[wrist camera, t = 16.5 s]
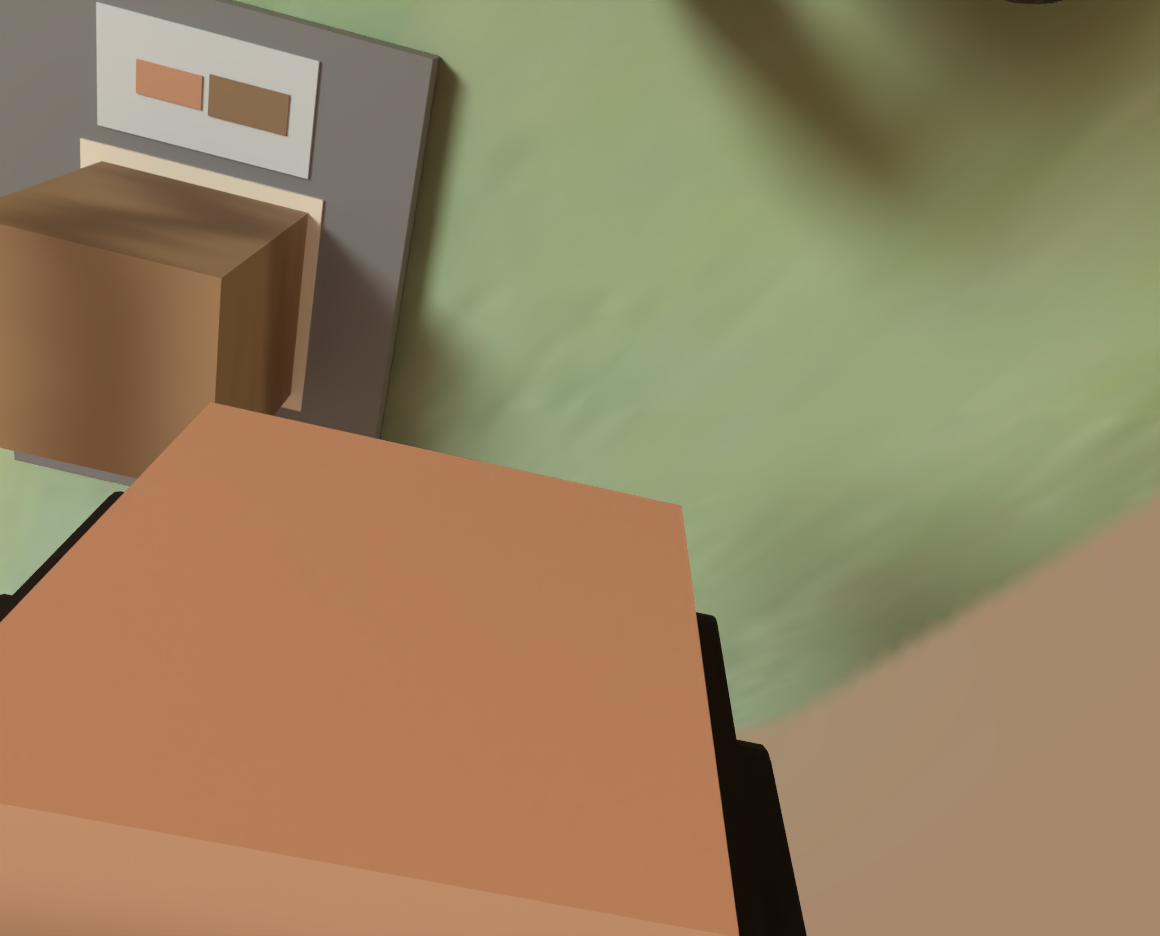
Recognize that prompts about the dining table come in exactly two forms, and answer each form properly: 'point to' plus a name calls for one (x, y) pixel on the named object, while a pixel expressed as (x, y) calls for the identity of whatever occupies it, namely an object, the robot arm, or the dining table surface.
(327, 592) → the terracotta block
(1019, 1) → the milk frother
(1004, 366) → the dining table surface
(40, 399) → the walnut cube
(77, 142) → the board
